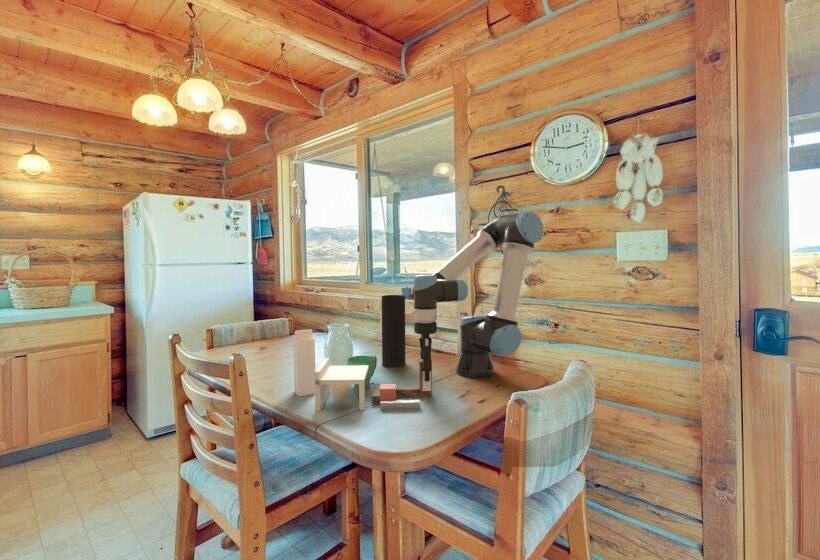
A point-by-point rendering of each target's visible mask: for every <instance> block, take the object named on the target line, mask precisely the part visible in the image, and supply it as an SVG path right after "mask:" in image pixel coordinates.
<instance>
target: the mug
mask: <svg viewBox="0 0 820 560" xmlns="http://www.w3.org/2000/svg"><path fill="white" fill-rule="evenodd" d="M377 361H378V359H377V356H376V355H375V354H370V355H353V356H351V357H348V358H347V366H352V365H369V370H368V373H367V376H366V380H365V389H367V388H368V387H369V385H370V383H371V382H370V381H371V379H372V378H373V376H374V373H375V371H376V368H377ZM353 386H354V387H355V388H356V389H359V384H353Z"/></svg>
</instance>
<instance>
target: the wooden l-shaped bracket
mask: <svg viewBox="0 0 820 560" xmlns="http://www.w3.org/2000/svg"><path fill="white" fill-rule="evenodd" d="M418 363H419V364H418V367H419V370H418V371H419V374H418V375H419V378H418V379H419V386H406V387H405V386H400V387H399V386H396V398H413V397H414V398H418V397H419V398H421V399H422V398H423V399H424V398H426V399H427V398H428V399H429V398H433V361H432V359H431V368H432V370H431V391H423V371H421V369H423V359H421V358H419V362H418ZM425 367H429V366H425ZM371 404H372V405H381V404H380V386H379V387H373V391H372V395H371Z"/></svg>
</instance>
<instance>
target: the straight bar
mask: <svg viewBox="0 0 820 560" xmlns="http://www.w3.org/2000/svg"><path fill="white" fill-rule="evenodd" d="M399 410H401V411H403V410H404V411H406V410H407V411H412V410H417V411H418V410H421V400H420V399H396V400H381V404H380V411H399Z"/></svg>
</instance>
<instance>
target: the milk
mask: <svg viewBox="0 0 820 560" xmlns="http://www.w3.org/2000/svg"><path fill="white" fill-rule="evenodd" d="M292 343H293V344H292V346H293V347H292V349H293V354H292V355H293V386H294V387H293V389H294V390H293V391H294V393H295V394H296V396H297V397H303V396H310V395H315V374H314V372H315V370H316V340H315V336H314V335H313V329H312V328H308V329H297V330H295V331H294V336H293V338H292Z"/></svg>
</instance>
